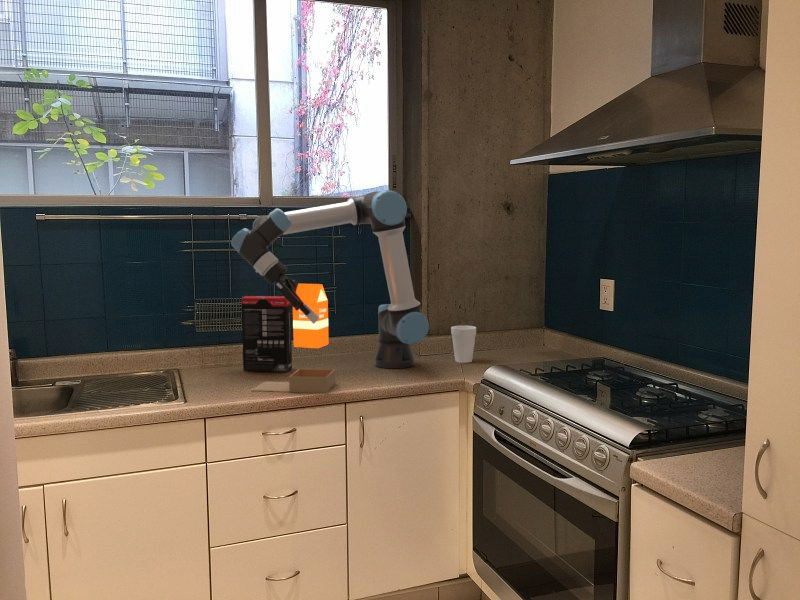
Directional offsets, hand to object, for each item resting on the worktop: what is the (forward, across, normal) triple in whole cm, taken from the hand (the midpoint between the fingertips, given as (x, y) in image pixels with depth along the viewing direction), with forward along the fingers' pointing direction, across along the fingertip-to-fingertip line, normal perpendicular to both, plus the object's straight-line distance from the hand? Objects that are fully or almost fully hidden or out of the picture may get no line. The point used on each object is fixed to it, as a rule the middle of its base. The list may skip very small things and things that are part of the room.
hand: (320, 318), depth 222 cm
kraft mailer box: (+10, 0, -23) cm, 25 cm away
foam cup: (+47, -46, +15) cm, 68 cm away
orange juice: (+4, 0, -9) cm, 10 cm away
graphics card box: (-2, -25, -35) cm, 43 cm away
